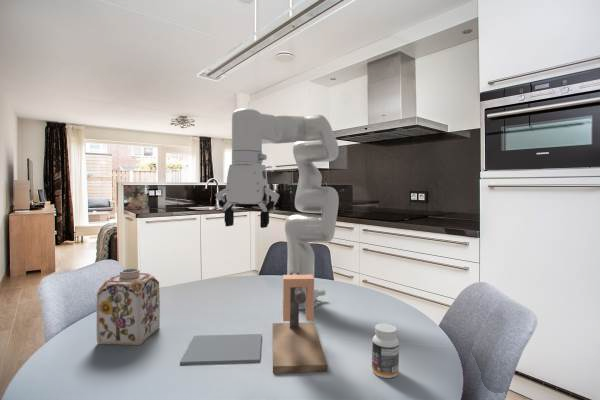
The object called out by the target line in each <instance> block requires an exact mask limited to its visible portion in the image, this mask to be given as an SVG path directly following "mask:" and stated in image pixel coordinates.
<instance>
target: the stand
mask: <svg viewBox="0 0 600 400" xmlns="http://www.w3.org/2000/svg"><path fill="white" fill-rule="evenodd" d="M290 275H299V271H290ZM305 301H306V295H305V293H304V292H303V289H302V287H290V321H289V322H273V323H272V374H285V373H286V374H287V373H288V374H289V373H311V372H312V373H315V372H328V362H327V359H326V356H325V353H324V350H323V346H322V344H321V341H320V337H319V335H318V331H317V328H316V325H315V322H313V321H311V322H310V321H306V322H300V317H299V316H300V315H299V314H300V313H299V312H300V309H299V304H302V303H304V302H305Z"/></svg>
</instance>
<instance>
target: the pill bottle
mask: <svg viewBox="0 0 600 400" xmlns="http://www.w3.org/2000/svg"><path fill="white" fill-rule="evenodd" d="M374 333H375V335H373V336H372V339H371V340H372V341H371V342H372V346H371V347H372V349H371V370H372V373H374V375H376V376H378V377H379V378H384V379H392V378H395V377H396V376H397V375H398V374H399V367H400V366H399V362H400V361H399V360H400V359H399V357H400V355H399V354H400V341H399V339H398V337H397V336H398V328H397V327H396V326H395V325H393V324H389V323H378V324H375V326H374Z"/></svg>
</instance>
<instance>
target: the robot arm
mask: <svg viewBox="0 0 600 400" xmlns="http://www.w3.org/2000/svg"><path fill="white" fill-rule="evenodd" d="M290 143H291V144H292V143H294V144H293V146H292V153H293V158H294V161H295V163H296V166H297V170H298V174H299V176H298V182H297V187H296V191H295V197H294V208H295V209H296V210H297V212H298V211H299V214H298V213H296V214H293V215H290V216H288V218H286V220H285V223H284V232H285V233H284V234H285V238H286V243H287V244H286V245H287V246H286V247H287V267H286V268H287V269H286V270H287V274H286V275H290V271H299V275H313V277H314V278H315V253H314V249H313V247H312V246H311V244H310V243H317V244H318V243H319V244H320V243H321V244H328V243H330V242H331V241H333V239H334V236H335V232H336V226H337V220H338V219H337V218H338V212H339V211H338V210H339V205H340V204H339V203H340V202H339V194H338V191H337V190H336V189H335V188H334V187H332V186H322V182H323V181H322V180H323V175H322V173H321V171H320V170H319V169H318V167H317V166H316V165H315V164H314V163H321V162H324V163H325V162H327V163H328V162H333V161H335V160H336V159H337V158H338V156H339V150H340V149H339V143H338V140H337V138H336V135H335V133H334V131H333V128H332V126H331V124H330V122H329V120H328V119H327V117H325V116H324V115H322V114H315V115H303V116H296V115H295V116H294V115H274V114H268V113H267V114H266V113H261V112H259V110H256V109H253V108H239V109H236V110H234V111H233V112H232V115H231V164H229V165H228V170H227V177H226V185H225V186H226V187H225V188H223V189H221V190H219V191H218V192H216V193H215V194H214V195H215V197H216V200H217V202H218V205H219V206H220V207H221V208H222V211H224V224H225V227H231V226H233V227H234V221H235V220H234V217H235V216H234V214H235V211H234V209H233V208H234V207H235V205H238V204H239V205H240V204H241V205H258V206H259V208H260V210H261V211H260V214H259V215H260V217H259V218H260V221H259V222H260V223H259V225H260V228H262V229H264V228H268V226H269V224H270V211H272V209H273V208H274V207H275V206H276V205H277V202H278V200H279V198H280V194H279V193H277V192H276V191H274V190H272V189H271V188H269V185H268V183H269V182H268V176H267V168H266V166H265V165H264V164H262V163H263V161H266V160H267V158H268V157H267V154H264V153H263V149H262V148H263V146H262V145H264V144H277V145H278V144H279V145H280V144H290ZM224 196H225V198H226V199H225V198H224ZM269 196H270V197H271V199H270V201H269ZM268 201H269V202H268ZM300 212H301V213H300ZM303 213H308V214H303ZM302 289H303V292H304V293H306V287H302ZM325 295H326V291H325V289H321V290H319V289H314V308H315V307H318V305H319V299H318V298H319V297H322V296H325ZM299 310H305V302H304V303H302V304H299Z"/></svg>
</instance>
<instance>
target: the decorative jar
mask: <svg viewBox="0 0 600 400" xmlns="http://www.w3.org/2000/svg"><path fill="white" fill-rule="evenodd" d="M160 302H161V301H160V281H159V280H158V279H157V278H156V277H155V276H153V275H152V274H150V273H147V272H141V271H140V269H139V268H135V267H134V268H124V269H121V270H120V271H119V274H118V275H114V276H111V277H109V278H107V279H106V280H104V282H103V284H102V285H101V287H99V289H98V291H97V293H96V343H97V344H98V345H116V346H120V345H121V346H122V345H123V346H140V345H142V344H143V343H144V342H145V341H146V340H147V339H148V338H150V337H151V336H152V335H153V334H154V333H155V332H156V331H157V330H158V329H160V327H161V325H160V324H161V323H160V322H161V320H160V318H161V309H160V308H161V304H160Z"/></svg>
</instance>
